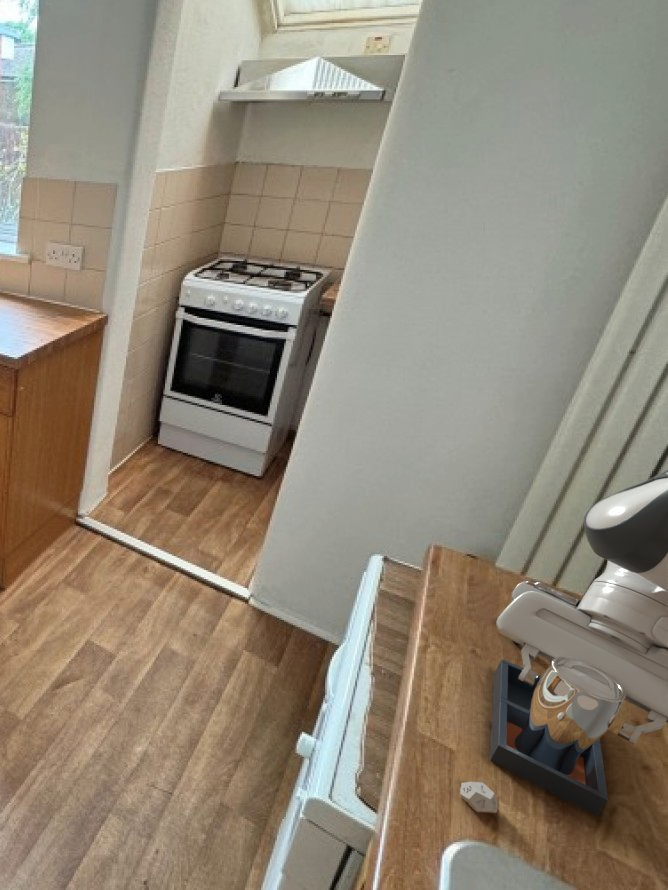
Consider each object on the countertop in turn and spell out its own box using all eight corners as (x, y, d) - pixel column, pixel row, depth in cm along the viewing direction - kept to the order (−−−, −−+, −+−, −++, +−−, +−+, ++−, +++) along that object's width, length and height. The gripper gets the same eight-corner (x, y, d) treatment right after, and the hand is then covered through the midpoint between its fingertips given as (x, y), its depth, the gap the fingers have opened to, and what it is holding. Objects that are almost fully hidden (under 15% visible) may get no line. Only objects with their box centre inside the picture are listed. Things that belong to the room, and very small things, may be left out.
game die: (492, 802, 77) (501, 787, 75) (493, 827, 74) (502, 811, 73) (456, 784, 79) (464, 769, 78) (456, 807, 76) (465, 791, 75)
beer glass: (585, 795, 77) (639, 712, 71) (513, 766, 80) (559, 685, 75) (567, 750, 82) (615, 670, 77) (500, 725, 86) (542, 646, 80)
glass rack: (493, 675, 94) (501, 658, 93) (584, 716, 88) (595, 699, 87) (488, 763, 81) (498, 745, 80) (595, 819, 75) (608, 800, 74)
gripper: (523, 567, 85) (472, 647, 84) (757, 673, 69) (697, 774, 68) (523, 581, 89) (473, 657, 88) (744, 684, 73) (687, 779, 72)
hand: (573, 709), depth 78 cm, fingers open, 8 cm apart
